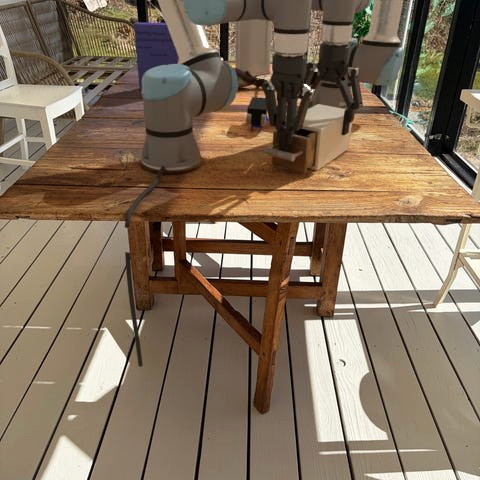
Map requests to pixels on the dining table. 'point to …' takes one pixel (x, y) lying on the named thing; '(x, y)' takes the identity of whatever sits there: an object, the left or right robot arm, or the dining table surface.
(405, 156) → the dining table surface
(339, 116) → the cabinet
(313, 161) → the drawer
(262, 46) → the tall white carton
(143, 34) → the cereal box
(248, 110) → the figurine character
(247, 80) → the figurine
